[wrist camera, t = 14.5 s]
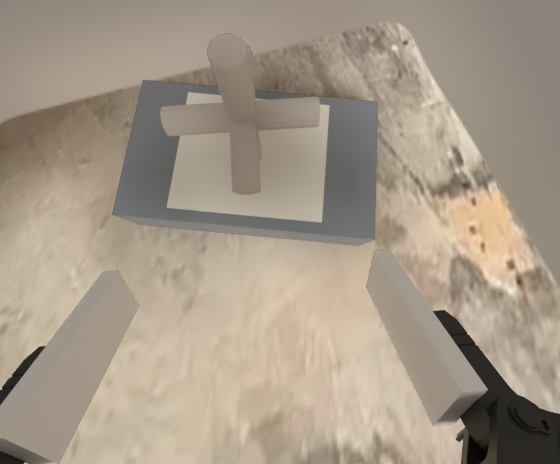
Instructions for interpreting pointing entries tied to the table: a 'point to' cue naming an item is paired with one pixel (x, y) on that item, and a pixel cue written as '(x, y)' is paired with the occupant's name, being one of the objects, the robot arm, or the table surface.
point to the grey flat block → (273, 172)
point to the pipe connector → (239, 112)
